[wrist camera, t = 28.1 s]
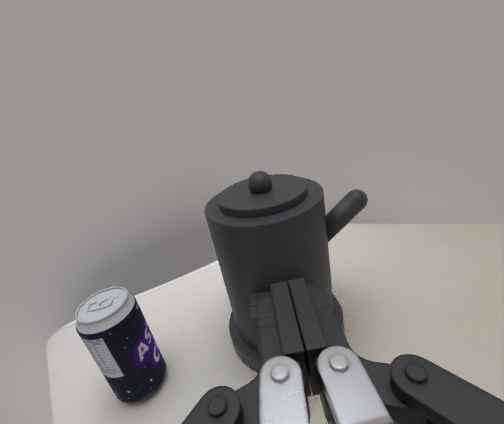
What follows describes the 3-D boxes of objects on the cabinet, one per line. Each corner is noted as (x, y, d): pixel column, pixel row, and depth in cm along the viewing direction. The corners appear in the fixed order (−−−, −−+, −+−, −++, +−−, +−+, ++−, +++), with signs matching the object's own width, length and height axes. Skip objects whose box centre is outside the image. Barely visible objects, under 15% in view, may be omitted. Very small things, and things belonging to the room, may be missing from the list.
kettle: (405, 374, 28) (417, 177, 20) (231, 404, 29) (169, 225, 20) (341, 263, 45) (332, 133, 37) (233, 284, 46) (199, 159, 37)
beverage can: (164, 399, 30) (122, 316, 25) (111, 413, 30) (58, 332, 25) (170, 354, 36) (137, 278, 31) (125, 366, 35) (84, 291, 30)
